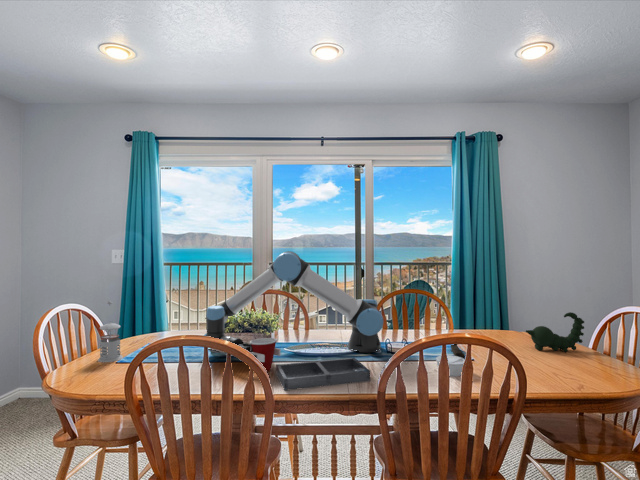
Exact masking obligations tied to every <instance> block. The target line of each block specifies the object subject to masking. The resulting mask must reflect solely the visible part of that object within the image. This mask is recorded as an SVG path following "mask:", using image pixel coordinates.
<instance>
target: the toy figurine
mask: <svg viewBox="0 0 640 480" xmlns="http://www.w3.org/2000/svg"><path fill="white" fill-rule="evenodd" d="M567 317H570V318H571V319H573V323H572V328H571V329H570V333H569V334H568V335H567V336H562V335H559V334H557V333H554V332H553V331H552V329H551V328H549V327H547V326H545V325H540V326H535V328H533V329H528V330H525V333H527V334H528V335H529V336H530V337H531V341H532V342H533V343H534V348H535V349H536V350H537V351H542V350H543V349H544V348H546V347H547V348H549V349H551V350H553V351H554V352H558V350H560V351H562V352H563V353H567V352H568V351H569V350H568V349H570V348H571V350H573V351H575V350H577V346H576V343H579V344H582V343H583V341H584V340H583V339H581V338H580V336H583V337H584V332H582V330H584V329H585V326H584V325H583V324H585V320H583V319H582V317H578V315H577V314H576V313H574V312H566V313H565V314H564V315H563V318H567Z"/></svg>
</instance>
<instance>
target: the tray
mask: <svg viewBox="0 0 640 480" xmlns="http://www.w3.org/2000/svg"><path fill="white" fill-rule="evenodd" d="M275 366H276V368H275V369H276V370H275V372H276V376H277V378H278V380H279V382H281V383H280V384H282V385H281V387H282V386H283V387H282V389H283V388H284V389H283V390H284V391H289V390H288V389H293V390H298V389H297V388H302V389H311V388H318V387H320V386H321V387H329V386H336V385H337V386H339V385H346V384H355V383H356V384H357V383H364V382H365V383H366V382H367V383H368V382H371V370H370V369H368V367H366V366H365V365H364V364H362V363H361V361H359V360H358V359H357V358H356V357H348V358H337V359H335V358H334V359H326V360H325V359H324V360H316V361H314V360H313V361H302V362H301V361H300V362H293V363H292V362H291V363H290V362H289V363H281V364H280V363H279V364H276V365H275ZM321 387H320V388H321Z"/></svg>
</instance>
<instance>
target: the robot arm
mask: <svg viewBox="0 0 640 480" xmlns="http://www.w3.org/2000/svg"><path fill="white" fill-rule="evenodd" d="M283 282H287V283H288V284H289V285H291V286H293V287H295V288H296V287H301V288H303V289H304V290H306V291H307V292H308V293H310V294H311V295H314V297H316V298H317V299H319V300H320V301H322V302H324V303H325V304H326V305H328V306H329V307H331V308H333V310H335V311H337V312H338V313H340V314H341V315H343V316H344V317H345V319H346V320H345V321H346V322H347V323H349V324H350V325H351V327H352V329H351V334H350V336H349V337H350V338H349V341H348V349H349V350H350V349H353V350H357V351H359V352H358V353H366V354H367V353H375V352H374V351H376V350H379V349H380V350H381V348H382V344H381V341H380V337H379V335H378V333H380V331H382V329H383V326H384V316H383V315H382V313H381V311H380V310H379V309H378V301H377V300H376V299H369V298H367V299H365V298H364V299H362V298H360V299H356V298H354V297H352V296H351V295H350V294H349V293H347V292H345V291H344V290H342V289H341V288H339V287H338V286H336V285H335V284H334V283H332V282H330V281H329V280H327V279H326V278H324V277H323V276H321V275H320V274H318V273H317V272H315V271H314V270H312V269H311V265H310V263H309V262H307V261H305V260H304V259H302V258H301V257H300V255H298V254H297V253H296V252H294V251H289V250H288V251H283V252H282V253H279V254H278V255H277V257H275V259H274V261H273V262H272V263H271V264H269V266H268V269H266V270H265V271H264V272H262V273H261V274H260V275H258V276H257V277H256V278H254V279H253V280H252V281H250V282H249V283H248V284H246V285H245V286H244V287H242V288H241V289H240V290H238V291H237V292H236V293H234V294H233V295H232V296H230V297H229V298H228V299H227V300H226V301H224V302H223V303H221V304H220V305H212V306H209V307H207V308H206V315H205V316H206V333H204V335H203V336H211V337H214V338H219V339H223V340H227V341H230V342H232V343H235V344H237V345H239V346H241V347H242V348H244V349H246V350H248V351H249V352H251V353H252V354H253V355H254V356H255V357H256V358H257V359H258V360H259V361H260V362H265V355H264V354H259V353H255V352H253V349H252V345H251V344H250V343H247V342H244V341H243V340H242V339H241V338H238V337H233V336H230V335H229V336H228V335H225V324H226V322H227V321H228V320H229V319H228V316H232V317H233V315H234V316H235V315H236V314H237V313H238V312H239V313H240V311H242V310H243V309H244V308H246V307H247V306H248V305H250V304H251V303H252V302H253V301H254V300H256V299H257V298H259V297H260V296H261V295H263V294H264V293H265V292H267V291H268V290H269V289H271V288H272V287H274V285H276V284H277V283H283ZM227 319H228V320H227ZM380 350H379V351H380ZM207 351H209V352H215V353H218V354H223V355H225V356H227V355H226V353H223V352H220V351H216V350H212V349H208V350H207ZM376 352H377V351H376ZM251 353H250V354H251ZM281 354H282V353H281V348H277V347H275V349H274V356H278V357H281Z"/></svg>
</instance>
